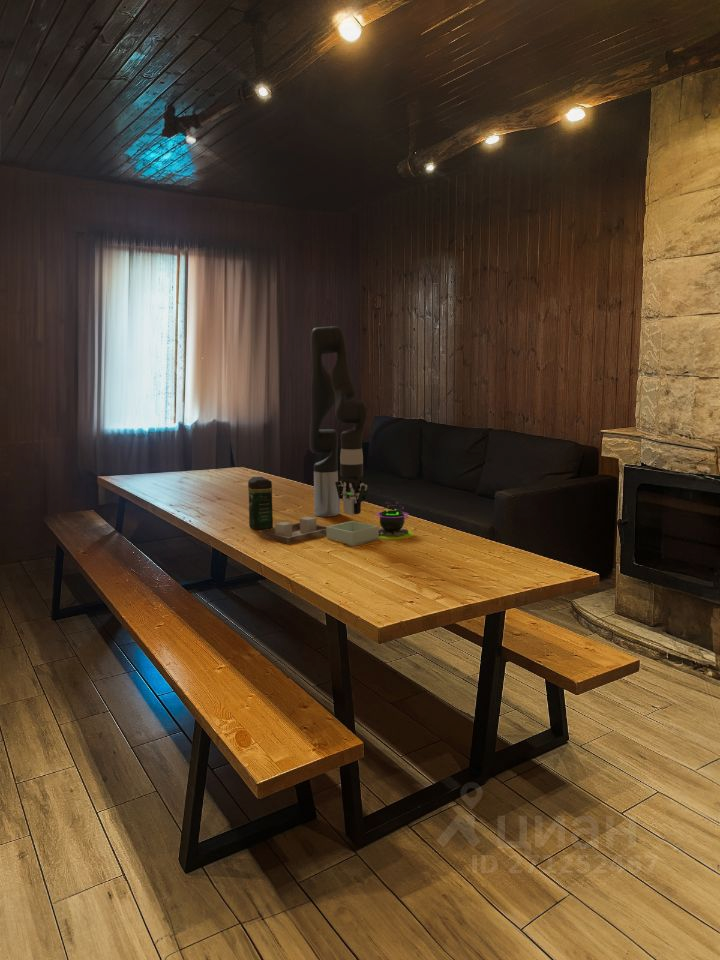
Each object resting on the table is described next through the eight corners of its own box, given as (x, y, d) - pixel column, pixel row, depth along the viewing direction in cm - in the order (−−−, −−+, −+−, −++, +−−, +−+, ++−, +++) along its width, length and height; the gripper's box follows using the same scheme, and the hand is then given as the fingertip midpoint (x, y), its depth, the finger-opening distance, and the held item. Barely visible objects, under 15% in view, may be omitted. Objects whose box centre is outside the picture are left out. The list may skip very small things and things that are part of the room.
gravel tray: (303, 528, 251) (303, 521, 251) (331, 535, 241) (331, 527, 241) (260, 538, 238) (260, 531, 237) (288, 545, 228) (287, 538, 227)
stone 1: (282, 536, 238) (282, 521, 237) (292, 537, 236) (291, 523, 235) (275, 538, 235) (274, 523, 234) (284, 540, 233) (284, 525, 232)
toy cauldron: (420, 531, 247) (420, 500, 245) (404, 541, 233) (404, 508, 231) (380, 527, 253) (380, 497, 251) (363, 537, 239) (363, 505, 238)
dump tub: (352, 533, 243) (352, 520, 243) (378, 539, 235) (378, 526, 234) (326, 540, 235) (326, 526, 234) (352, 546, 226) (352, 532, 226)
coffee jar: (275, 530, 250) (274, 478, 247) (253, 532, 247) (252, 479, 244) (268, 524, 258) (267, 474, 255) (247, 526, 255) (245, 476, 252)
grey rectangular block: (308, 530, 246) (308, 516, 245) (316, 532, 243) (316, 518, 243) (300, 532, 243) (299, 518, 242) (307, 534, 240) (307, 520, 240)
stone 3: (351, 511, 239) (351, 497, 238) (360, 513, 236) (360, 498, 235) (343, 513, 236) (343, 498, 235) (352, 514, 233) (351, 500, 233)
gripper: (375, 462, 231) (375, 514, 234) (344, 459, 241) (345, 508, 244) (359, 465, 226) (359, 517, 229) (328, 461, 236) (329, 511, 238)
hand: (352, 512), depth 236 cm, fingers closed on stone 3, 4 cm apart
